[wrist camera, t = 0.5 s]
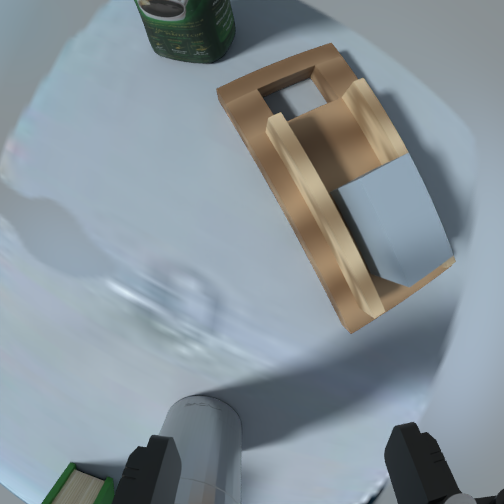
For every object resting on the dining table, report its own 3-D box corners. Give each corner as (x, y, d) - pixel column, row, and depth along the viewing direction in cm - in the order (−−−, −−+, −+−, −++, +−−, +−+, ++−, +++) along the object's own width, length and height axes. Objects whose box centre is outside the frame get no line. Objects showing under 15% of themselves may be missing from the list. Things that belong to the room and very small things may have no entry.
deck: (437, 262, 33) (473, 269, 26) (342, 325, 33) (364, 347, 26) (325, 55, 31) (340, 23, 24) (218, 100, 31) (212, 70, 24)
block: (408, 249, 30) (453, 255, 22) (370, 273, 30) (409, 287, 22) (370, 170, 29) (408, 152, 21) (330, 192, 29) (359, 179, 21)
